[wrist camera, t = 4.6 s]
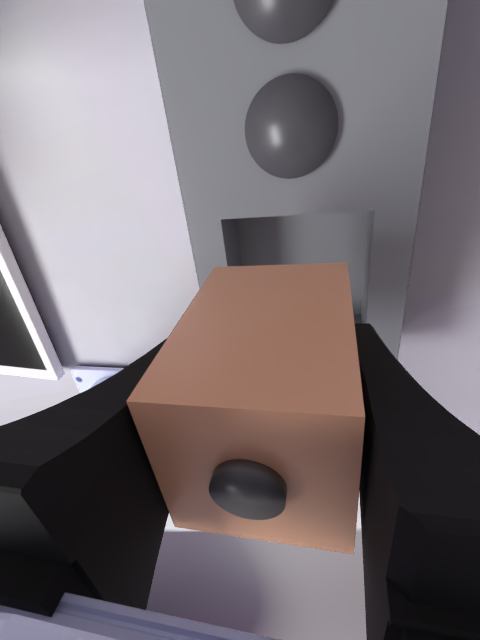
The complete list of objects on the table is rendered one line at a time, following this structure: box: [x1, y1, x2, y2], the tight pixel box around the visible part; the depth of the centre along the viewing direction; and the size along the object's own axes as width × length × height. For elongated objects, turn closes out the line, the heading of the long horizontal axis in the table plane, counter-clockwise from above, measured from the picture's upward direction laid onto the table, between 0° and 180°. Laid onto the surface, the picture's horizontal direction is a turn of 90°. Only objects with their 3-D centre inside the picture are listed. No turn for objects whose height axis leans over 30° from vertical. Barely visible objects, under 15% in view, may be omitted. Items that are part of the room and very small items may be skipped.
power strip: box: [144, 0, 448, 360], centre depth 15 cm, size 18×9×4 cm, turn 7°
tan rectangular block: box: [126, 263, 365, 554], centre depth 10 cm, size 4×4×7 cm
